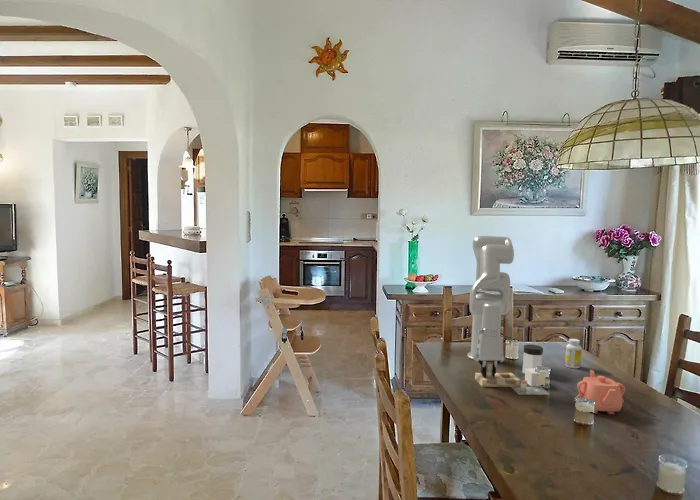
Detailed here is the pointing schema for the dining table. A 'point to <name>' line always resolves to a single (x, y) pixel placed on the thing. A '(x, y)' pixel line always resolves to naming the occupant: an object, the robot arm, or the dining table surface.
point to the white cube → (531, 377)
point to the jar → (532, 357)
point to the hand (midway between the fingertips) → (488, 375)
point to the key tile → (529, 389)
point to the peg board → (498, 380)
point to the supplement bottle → (573, 354)
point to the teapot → (602, 392)
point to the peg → (489, 369)
